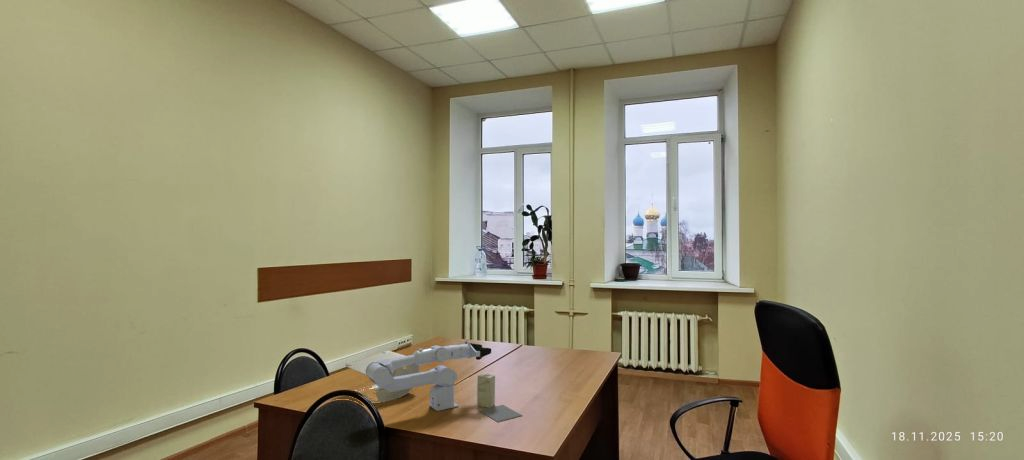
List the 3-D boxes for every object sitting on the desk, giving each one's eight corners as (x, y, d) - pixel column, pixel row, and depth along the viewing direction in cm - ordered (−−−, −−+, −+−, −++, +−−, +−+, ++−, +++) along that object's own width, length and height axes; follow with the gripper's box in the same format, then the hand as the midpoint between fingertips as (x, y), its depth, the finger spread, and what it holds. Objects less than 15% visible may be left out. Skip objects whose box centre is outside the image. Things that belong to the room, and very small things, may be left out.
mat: (497, 422, 170) (497, 421, 170) (479, 411, 182) (479, 410, 182) (522, 415, 176) (522, 415, 176) (502, 405, 188) (502, 404, 188)
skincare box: (476, 405, 187) (476, 375, 188) (482, 402, 191) (482, 373, 192) (490, 408, 185) (489, 377, 185) (495, 404, 188) (495, 374, 189)
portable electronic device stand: (420, 393, 205) (420, 357, 206) (371, 406, 189) (371, 368, 189) (391, 381, 223) (391, 349, 224) (344, 392, 207) (344, 357, 207)
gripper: (467, 345, 186) (495, 343, 194) (450, 338, 198) (478, 336, 206) (466, 363, 186) (494, 359, 194) (450, 355, 198) (477, 352, 205)
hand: (486, 349), depth 200 cm, fingers open, 7 cm apart
